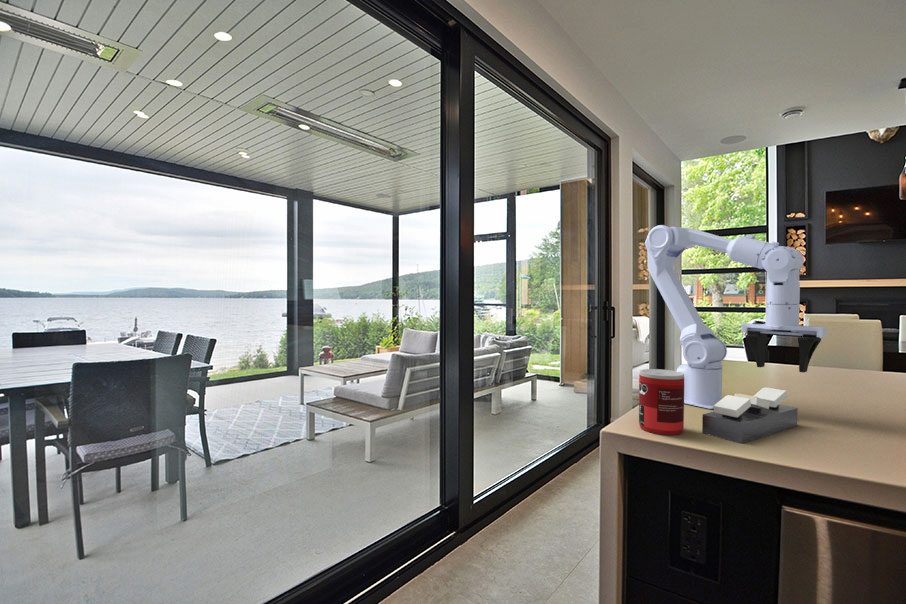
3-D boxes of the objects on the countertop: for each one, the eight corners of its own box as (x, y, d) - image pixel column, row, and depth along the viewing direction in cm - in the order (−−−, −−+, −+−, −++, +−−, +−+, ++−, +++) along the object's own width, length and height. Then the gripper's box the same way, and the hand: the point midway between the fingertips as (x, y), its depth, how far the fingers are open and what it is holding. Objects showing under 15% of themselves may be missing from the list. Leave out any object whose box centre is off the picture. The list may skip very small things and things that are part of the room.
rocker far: (753, 403, 93) (752, 396, 92) (764, 393, 95) (764, 387, 95) (775, 407, 89) (774, 400, 89) (786, 397, 92) (786, 390, 92)
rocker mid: (733, 400, 89) (734, 392, 89) (746, 404, 91) (747, 397, 92) (756, 404, 85) (757, 396, 86) (768, 409, 88) (769, 401, 88)
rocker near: (714, 412, 85) (713, 405, 85) (728, 401, 88) (727, 394, 88) (737, 417, 82) (736, 410, 82) (751, 406, 84) (750, 399, 84)
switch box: (702, 433, 86) (702, 410, 86) (772, 413, 100) (772, 393, 100) (741, 443, 80) (742, 418, 80) (810, 421, 94) (811, 400, 94)
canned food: (648, 421, 94) (648, 367, 94) (690, 429, 88) (690, 372, 88) (631, 429, 89) (632, 372, 88) (674, 438, 83) (675, 377, 83)
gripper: (736, 303, 100) (735, 366, 100) (818, 305, 88) (816, 376, 88) (750, 303, 104) (749, 363, 104) (830, 304, 92) (829, 372, 92)
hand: (781, 369), depth 96 cm, fingers open, 7 cm apart
